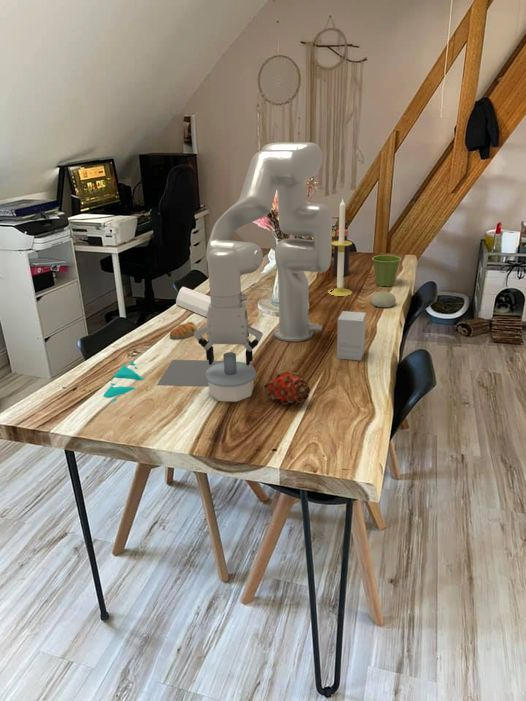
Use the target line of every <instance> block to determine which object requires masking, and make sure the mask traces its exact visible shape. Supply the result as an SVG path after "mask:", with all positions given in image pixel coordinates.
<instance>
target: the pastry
mask: <svg viewBox="0 0 526 701" xmlns="http://www.w3.org/2000/svg"><path fill="white" fill-rule="evenodd" d="M197 330H199V329H198V327H197V325H196V324H195V323H194V322H193V321H187V322H186V323H182V324H179V325H178V326H176V327H175V328H173V329H172V330H171V331H170V333H169V338H171V339H174V340H181V339H186V338H190V337H193V336H194V333H195V332H196V331H197Z"/></svg>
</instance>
